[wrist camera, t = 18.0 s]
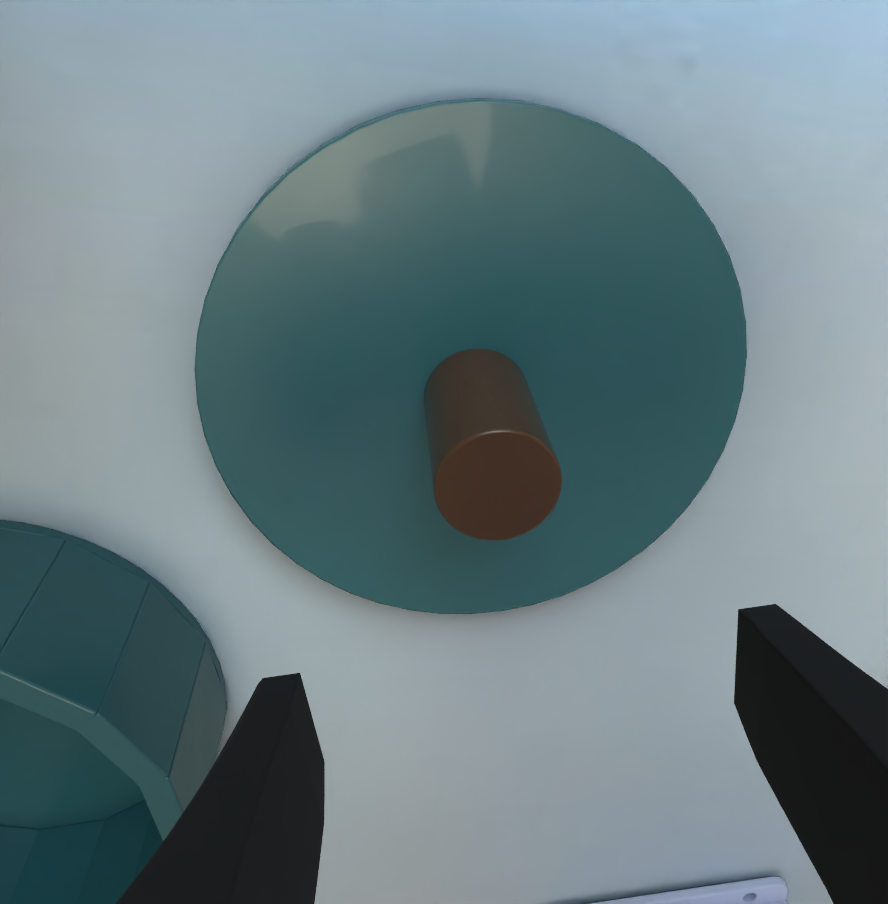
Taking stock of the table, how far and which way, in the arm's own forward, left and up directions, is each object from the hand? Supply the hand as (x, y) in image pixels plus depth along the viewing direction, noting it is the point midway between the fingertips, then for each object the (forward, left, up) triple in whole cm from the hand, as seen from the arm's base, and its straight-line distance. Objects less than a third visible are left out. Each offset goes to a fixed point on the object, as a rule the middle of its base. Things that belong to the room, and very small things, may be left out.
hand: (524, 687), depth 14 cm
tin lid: (0, -1, -9) cm, 9 cm away
